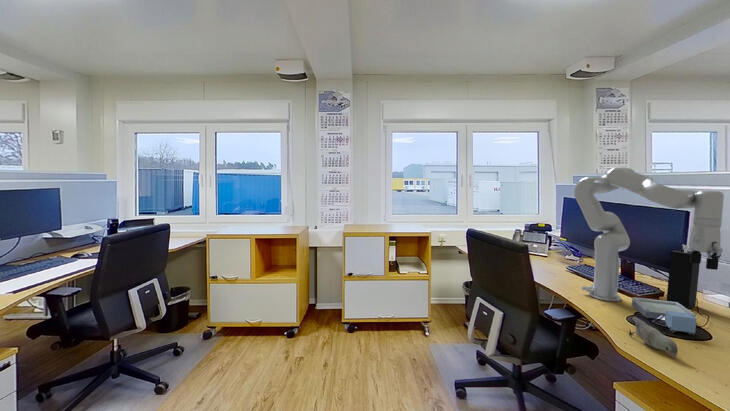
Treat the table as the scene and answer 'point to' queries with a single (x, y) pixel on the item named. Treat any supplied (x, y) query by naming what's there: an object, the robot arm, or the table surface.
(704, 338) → the table surface
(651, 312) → the dock
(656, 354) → the table surface
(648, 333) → the decorative bird
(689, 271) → the black tall block
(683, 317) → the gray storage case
